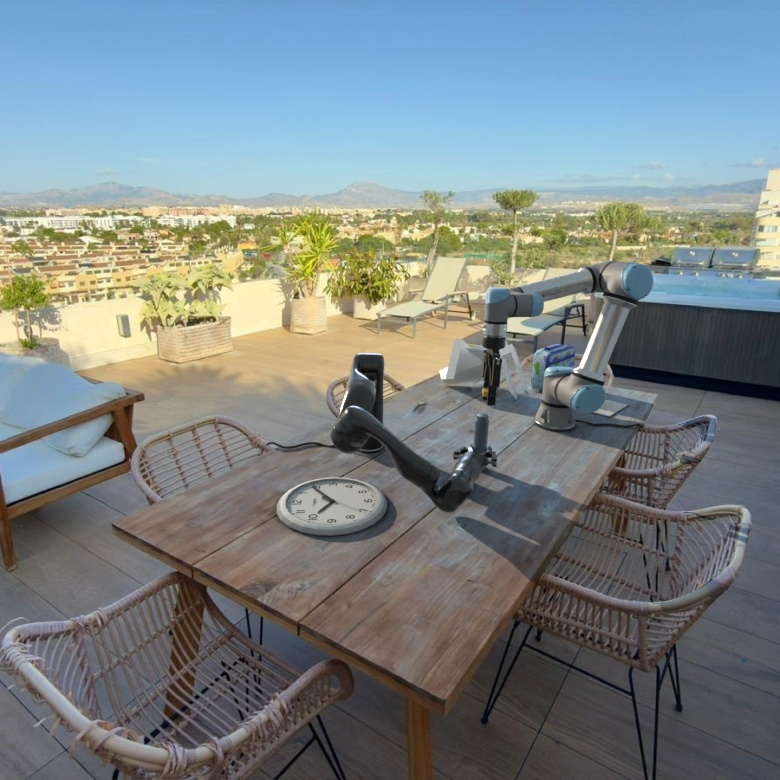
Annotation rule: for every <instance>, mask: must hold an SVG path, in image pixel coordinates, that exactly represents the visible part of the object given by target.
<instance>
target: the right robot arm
mask: <svg viewBox="0 0 780 780" xmlns="http://www.w3.org/2000/svg"><path fill="white" fill-rule="evenodd" d="M653 287H654V276H653V274H652V270H651V269H650V268H649V267H648V266H647V265H645V264H644V263H639V262H635V261H618V260H606V261H602V262H599V263H595V264H591V265H588V266H584V267H581V268H579V269H578V271H575V272H571V273H567V274H563V275H560V276H559V275H558V276H555V277H552V278H547V279H542V280H539V281H534V282H532V283H527V284H523V285H518V286H516V287H515V286H514V287H511V288H507V287H488V289H487V290H486V294H485V300H484V316H483V317H484V318H483V319H484V320H483V325H481V328H482V329H483V331H482V334H483V335H482V342H481V345H482V346H483V347H484V348H487V350H484V360H483V372H482V378H483V380H482V381H483V387H482V389H483V388H488V396H487V397H484V396H482V397H481V398H482V399H481V400H482V401H486V406H488V407H494V406H495V407H496V401H497V396H496V391H497V392H498V390H497V389H498V388H500V384H501V373H502V358H500V354H499V350H500V349H503V348H505V342H506V340H507V337H506V336H507V333H508V332H507V331H508V321H509V318H537V317H540V316H541V315H542V313H543V311H544V308H545V307H544V306H545V302H549V301H553V300H559V299H563V298H564V297H569V296H573V295H577V294H583V295H590V294H593V293H598V294H602V296H601V298H602V299H603V301H604V303H603V305H602V308H601V311H600V313H599V316H598V318H597V321H596V323H595V325H594V328H593V330H592V333H591V334H590V335H591V336H590V337H589V340H588V343H587V345H586V348H585V350H584V352H583V355H582V357H581V360H580V363H579V365H578V366H577V367H574V368H573V367H562V366H557V367H549V368H547V369H546V370H545V374H544V382H543V391H541V392H542V394H541V402H540V405H539V407H538V410H537V411H536V413H535V417H534V424H535V425H536V426H537V427H539V428H542V429H544V430H549V431H556V432H567V431H572V430H574V429H575V428H576V423H580V424H586V425H588V426H589V425H590V426H595V427H596V426H597V427H598V426H599V427H601V426H606V427H607V426H609V427H618V428H633V427H639V428H641V429H644V426H643V424H640V423H633V424H617V423H608V422H604V423H603V422H602V423H600V422H598V423H597V422H589V421H587V420H581V419H576V418H575V417H576V416H575V413H574V412H577V413H579V414H582V415H590V414H594V413H593V412H594V411H597V410H598V409H599V408H600V407H601V406H602V405H603V403H604V401H605V399H606V398H607V394H606V390H605V388H604V386H605V383H606V379H605V377H604V373H605V372H606V371H605V370H606V368H607V366H608V363H609V361H610V359H611V356H612V354H613V351H614V349H615V346H616V344H617V342H618V339H619V338H620V335H621V332H622V331H623V327H624V326H625V322H626V320H627V318H628V315H629V314H630V313H629V312H630V311H631V310H633V309H635V308H637V306H638V303H639V302H640V301H641V300H644V299H645V298H646V297H648V296H649V294H650V293H651V292H652V290H653ZM505 337H506V338H505Z"/></svg>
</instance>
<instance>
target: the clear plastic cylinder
mask: <svg viewBox="0 0 780 780" xmlns="http://www.w3.org/2000/svg"><path fill="white" fill-rule="evenodd" d="M489 425H490V420H489V415H488V414H486V413H477V414H476V418H475V419H474V432H473V443H474V445H473V452H476V453H480V452H482V451H486V449H487V447H488V441H489V440H488V438H489V427H490V426H489ZM485 470H486V466H485V467H484V469H483V471H485Z"/></svg>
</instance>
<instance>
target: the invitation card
mask: <svg viewBox="0 0 780 780" xmlns="http://www.w3.org/2000/svg"><path fill="white" fill-rule="evenodd" d="M628 406H629V404H627V403H623V402H618V401H614V400H609V399H606V398H605V401H604V403H603V405H602V406H601V407H600V408H599V409H598V410H597V411H594V412H593V413H592V414H596V415H600V416H604V417H608V418H609V417H611V416H613V415H614V414H616V413H617V412H619V411H621V410H623V409H624V408H626V407H628Z"/></svg>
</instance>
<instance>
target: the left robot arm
mask: <svg viewBox="0 0 780 780" xmlns="http://www.w3.org/2000/svg"><path fill="white" fill-rule="evenodd" d="M385 365H386V363H385V357H384V355H383V354H382V353H369V352H367V353H365V352H360V353H356V354H355V355H354V356H353V357H352V359H351V364H350V371H349V377H348V380H347V383H346V386H345V389H344V392H343V397H342V401H341V404H340V408H339V413H338V416H337V418H336V419H335V423H334V425H333V426H332V428H331V429H330V440H331V442H332V445H331V444H330V445H328V444H324V443H321V442H317V441H309V442H303V443H300V444H296V445H289V446H287V445H286V446H285V445H282V444H279V443H278V442H276V441H268V442H267V443H266V444H265V446H266V447H267V446H269V445H274V446H277V447H279V448H281V449H286V450H287V449H288V450H289V449H296V448H299V447H303V446H306V445H317V446H322V447H326V448H336V449H337V450H338V451H340V452H341V453H343V454H346V455H351V454H355V453H357V452H361V453H366V454H371V453H378V452H380V451H382V450H383V449H385V450H386V453H387V454H388V456H389V458H390V460H391V462H392V464H393V466H394V468H395V470H396V471H397V472H398V473H399V475H400V476H401V477H403V478H404V479H405V480H406V481H408V482H410V483H411V484H412V485H414V486H416V487H417V488H419V489H420V490H421V491H422V492H423V493H424V494H425V495H426V496H427V497H428V498H429V499H430V500H431V501H432V503H433V504H434V506H436V508H438V509H439V510H440V511H442V512H443V513H448V514H452V513H454V512H456V511H457V510H458V509H459V508H460V507H461V506H462V505H463V504H464V503H465V502H466V501H467V500H468V499H469V498H470V497H471V495H472V494H473V492H474V485H475V484H476V482H477V481H478V480H479V478H480V476H481V475H482V473H483V471H484V470H483V469H484V467H485V468H486V467H487V466H488V465H491V466H492V468H497V465H498V457H497V453H496V451H493V447H492V446H491V445H487V449H486V451H482V452H480V453H476V452H473V445H474V442H473V443H471V444H470V445H469V446H468V447H466V446H461V447H459V448H457V449H455V450H453V457H452V459H453V460H454V461H457V462H456V463H455V464H454V467H453V469H452V471H451V472H450V474H449V476H448V479H447V480H446V481H445V482H444V483H443V484H442V485H441V486H439V485H438V484H437V483H438V481H439V479H440V475H441V470H440V469H439V468H438V467H437V466H436V465H434V464H433V463H431V462H430V461H429V460H427V459H425V458H424V457H422V456H421V455H419V454H418V453H416V452H415V451H414V450H412V449H411V448H410V447H409V446H407V445H406V444H405V443H404V442H403V441H402V440H401V439H400V438H399V437H397V435H396V434H394V432H392V431H391V430H390V429H389V428H388V427H386V426H385V425H384V381H385Z"/></svg>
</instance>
